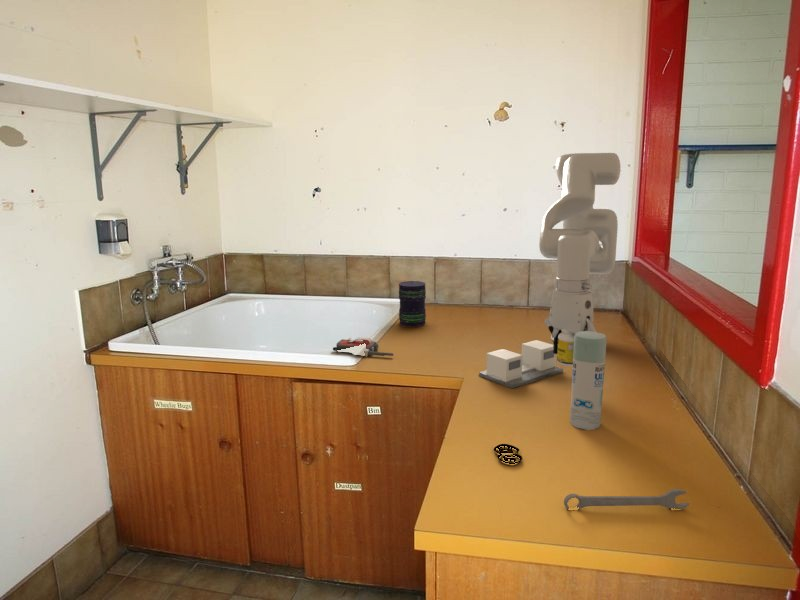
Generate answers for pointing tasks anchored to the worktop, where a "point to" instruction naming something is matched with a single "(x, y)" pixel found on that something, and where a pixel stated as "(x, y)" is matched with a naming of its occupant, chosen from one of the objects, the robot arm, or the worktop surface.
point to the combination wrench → (630, 500)
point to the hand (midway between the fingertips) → (568, 355)
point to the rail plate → (524, 376)
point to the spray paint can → (587, 379)
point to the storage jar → (412, 303)
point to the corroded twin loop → (508, 452)
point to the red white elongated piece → (370, 344)
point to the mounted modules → (520, 360)
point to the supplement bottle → (565, 348)
